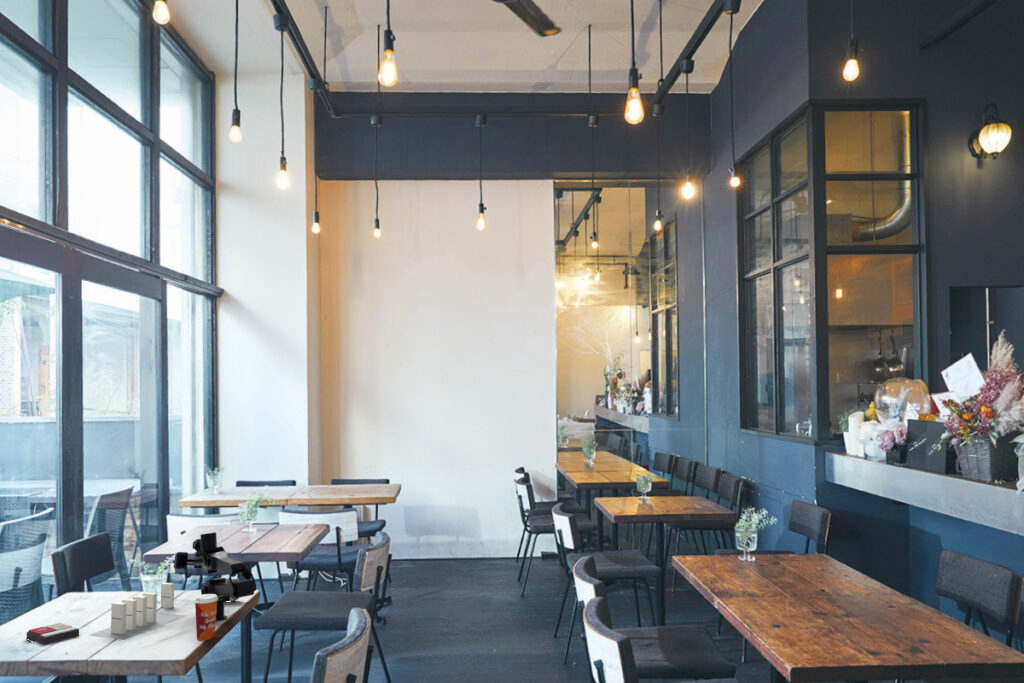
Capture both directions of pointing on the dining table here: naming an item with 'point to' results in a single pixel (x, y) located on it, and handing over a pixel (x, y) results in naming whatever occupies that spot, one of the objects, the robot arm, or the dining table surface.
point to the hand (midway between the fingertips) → (192, 561)
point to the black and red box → (52, 633)
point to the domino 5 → (167, 595)
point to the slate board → (139, 627)
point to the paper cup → (206, 616)
